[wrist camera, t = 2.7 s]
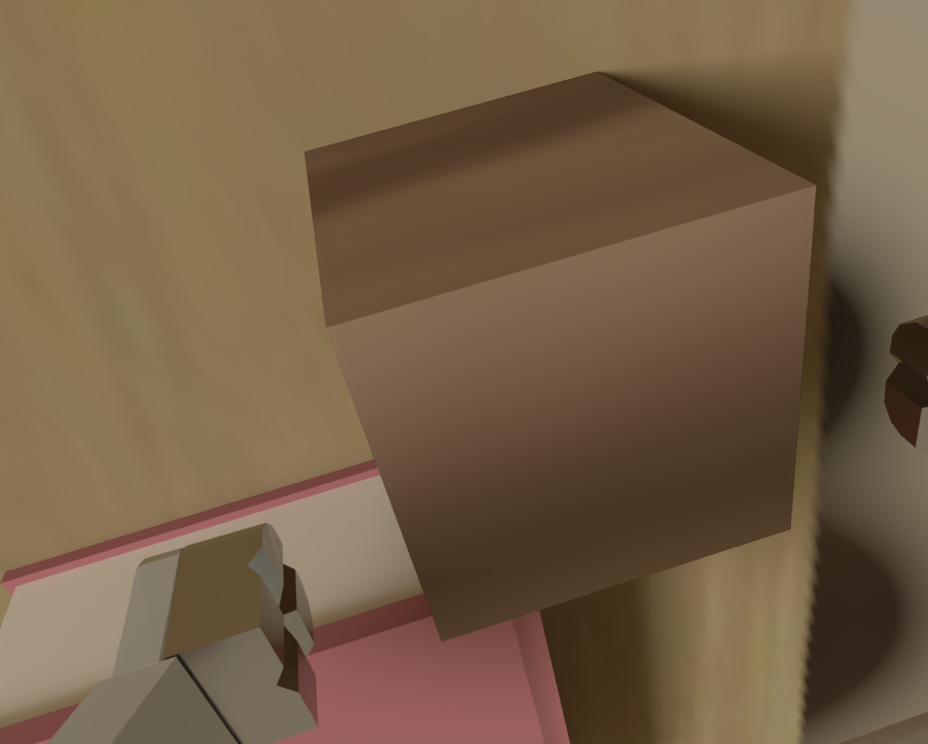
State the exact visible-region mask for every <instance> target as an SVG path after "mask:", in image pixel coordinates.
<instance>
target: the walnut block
mask: <svg viewBox="0 0 928 744" xmlns="http://www.w3.org/2000/svg"><path fill="white" fill-rule="evenodd" d="M304 153H305V161H306V169H307V177H308V185H309V193H310V201H311V210H312V218H313V226H314V234H315V242H316V250H317V258H318V266H319V275H320V283H321V291H322V299H323V307H324V315H325V323H326V329H327V332H328V335H329V337H330V340H331V343H332V345H333V348H334V351H335V354H336V356H337V359H338V362H339V364H340V367H341V370H342V373H343V375H344V378H345V381H346V383H347V386H348V389H349V392H350V394H351V397H352V400H353V402H354V405H355V408H356V411H357V413H358V416H359V419H360V421H361V424H362V427H363V430H364V432H365V435H366V438H367V441H368V443H369V446H370V449H371V451H372V454H373V457H374V460H375V462H376V465H377V468H378V470H379V473H380V476H381V479H382V481H383V484H384V487H385V489H386V492H387V495H388V498H389V500H390V503H391V506H392V508H393V511H394V514H395V517H396V519H397V522H398V525H399V527H400V530H401V533H402V536H403V538H404V541H405V544H406V547H407V549H408V552H409V555H410V557H411V560H412V563H413V566H414V568H415V571H416V574H417V576H418V579H419V582H420V585H421V587H422V590H423V593H424V595H425V598H426V601H427V604H428V606H429V609H430V612H431V614H432V617H433V620H434V623H435V625H436V628H437V631H438V633H439V636H440V639H441V642H443V641H447V640H450V639H453V638H456V637H459V636H462V635H465V634H468V633H471V632H474V631H477V630H481V629H484V628H487V627H490V626H493V625H496V624H499V623H502V622H505V621H508V620H511V619H514V618H518V617H521V616H524V615H527V614H530V613H533V612H536V611H539V610H542V609H545V608H548V607H552V606H555V605H558V604H561V603H564V602H567V601H570V600H573V599H576V598H579V597H582V596H586V595H589V594H592V593H595V592H598V591H601V590H604V589H607V588H610V587H613V586H616V585H620V584H623V583H626V582H629V581H632V580H635V579H638V578H641V577H644V576H647V575H650V574H654V573H657V572H660V571H663V570H666V569H669V568H672V567H675V566H678V565H681V564H684V563H688V562H691V561H694V560H697V559H700V558H703V557H706V556H709V555H712V554H715V553H718V552H722V551H725V550H728V549H731V548H734V547H737V546H740V545H743V544H746V543H749V542H752V541H755V540H759V539H762V538H765V537H768V536H771V535H774V534H777V533H780V532H783V531H786V530H789V529H790V528H791V515H792V502H793V489H794V475H795V462H796V449H797V436H798V422H799V409H800V396H801V383H802V369H803V356H804V343H805V330H806V316H807V303H808V290H809V277H810V263H811V250H812V237H813V224H814V210H815V197H816V185H815V184H813V183H811V182H809V181H807V180H805V179H803V178H802V177H800V176H798V175H796V174H794V173H792V172H790V171H788V170H786V169H784V168H782V167H780V166H778V165H776V164H775V163H773V162H771V161H769V160H767V159H765V158H763V157H761V156H759V155H757V154H755V153H753V152H751V151H749V150H748V149H746V148H744V147H742V146H740V145H738V144H736V143H734V142H732V141H730V140H728V139H726V138H724V137H722V136H720V135H719V134H717V133H715V132H713V131H711V130H709V129H707V128H705V127H703V126H701V125H699V124H697V123H695V122H693V121H692V120H690V119H688V118H686V117H684V116H682V115H680V114H678V113H676V112H674V111H672V110H670V109H668V108H666V107H665V106H663V105H661V104H659V103H657V102H655V101H653V100H651V99H649V98H647V97H645V96H643V95H641V94H639V93H638V92H636V91H634V90H632V89H630V88H628V87H626V86H624V85H622V84H620V83H618V82H616V81H614V80H612V79H611V78H609V77H607V76H605V75H603V74H601V73H599V72H593V73H590V74H586V75H583V76H579V77H575V78H572V79H568V80H564V81H561V82H557V83H553V84H550V85H546V86H542V87H539V88H535V89H532V90H528V91H524V92H521V93H517V94H513V95H510V96H506V97H502V98H499V99H495V100H492V101H488V102H484V103H481V104H477V105H473V106H470V107H466V108H462V109H459V110H455V111H451V112H448V113H444V114H441V115H437V116H433V117H430V118H426V119H422V120H419V121H415V122H411V123H408V124H404V125H401V126H397V127H393V128H390V129H386V130H382V131H379V132H375V133H371V134H368V135H364V136H360V137H357V138H353V139H350V140H346V141H342V142H339V143H335V144H331V145H328V146H324V147H320V148H317V149H313V150H309V151H306V152H304Z"/></svg>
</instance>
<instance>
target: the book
mask: <svg viewBox="0 0 928 744" xmlns="http://www.w3.org/2000/svg"><path fill="white" fill-rule="evenodd" d="M263 523H268V524H270V525H272V526H273V528H274V530H275V531H276V533H277V535H278V537H279V539H280V540H281V542H282V544H283V564H285V565H287V566H289V567H291V568H294V569H295V570H296V572H297V574H298V576H299V578H300V580H301V582H302V584H303V587H304V590H305V593H306V595H307V598H308V602H309V607H310V612H311V616H312V621H313V632H314V645H313V647H312V649H311V650H310V652H309V654H308V655H307V657H306V658H307V660H308V662H309V664H310V665H311V667H312V669H313V671H314V673H315V675H316V688H317V710H318V727H316V728H313V729H310V730H308V731H305V732H302V733H299V734H297V735H294V736H291V737H288V738H286V739H283V740H280V741H277V742H275V743H272V744H570V741H569V736H568V732H567V728H566V723H565V719H564V715H563V710H562V706H561V702H560V697H559V693H558V689H557V684H556V680H555V676H554V671H553V667H552V663H551V658H550V654H549V650H548V645H547V641H546V637H545V632H544V628H543V624H542V619H541V615H540V611H536V612H533V613H530V614H527V615H524V616H521V617H518V618H514V619H511V620H508V621H505V622H502V623H499V624H496V625H493V626H490V627H487V628H484V629H481V630H477V631H474V632H471V633H468V634H465V635H462V636H459V637H456V638H453V639H450V640H447V641H443V642H441V639H440V636H439V633H438V631H437V628H436V625H435V623H434V620H433V617H432V614H431V612H430V609H429V606H428V604H427V601H426V598H425V595H424V593H423V590H422V587H421V585H420V582H419V579H418V576H417V574H416V571H415V568H414V566H413V563H412V560H411V557H410V555H409V552H408V549H407V547H406V544H405V541H404V538H403V536H402V533H401V530H400V527H399V525H398V522H397V519H396V517H395V514H394V511H393V508H392V506H391V503H390V500H389V498H388V495H387V492H386V489H385V487H384V484H383V481H382V479H381V476H380V473H379V470H378V468H377V465H376V462H375V460H371V461H367V462H364V463H361V464H358V465H354V466H351V467H348V468H344V469H341V470H338V471H335V472H331V473H328V474H325V475H322V476H318V477H315V478H312V479H308V480H305V481H302V482H299V483H295V484H292V485H289V486H285V487H282V488H279V489H276V490H272V491H269V492H266V493H263V494H259V495H256V496H253V497H249V498H246V499H243V500H240V501H236V502H233V503H230V504H227V505H223V506H220V507H217V508H213V509H210V510H207V511H204V512H200V513H197V514H194V515H191V516H187V517H184V518H181V519H177V520H174V521H171V522H168V523H164V524H161V525H158V526H155V527H151V528H148V529H145V530H141V531H138V532H135V533H132V534H128V535H125V536H122V537H119V538H115V539H112V540H109V541H105V542H102V543H99V544H96V545H92V546H89V547H86V548H83V549H79V550H76V551H73V552H69V553H66V554H63V555H60V556H56V557H53V558H50V559H46V560H43V561H40V562H37V563H33V564H30V565H27V566H24V567H20V568H17V569H14V570H10V571H7V572H5V574H4V576H3V579H2V581H1V584H2V585H3V586H4V588H5V589H6V590H7V591H8V592H9V593H10V594H11V596H12V599H11V602H10V604H9V607H8V610H7V612H6V615H5V618H4V620H3V623H2V626H1V628H0V744H47V743H48V742H49V741H50V740H51V739H52V737H53V736H54V735H55V734H56V732H57V731H58V730H59V729H60V728H61V726H62V725H63V724H64V723H65V721H66V720H67V719H68V718H69V717H70V715H71V714H72V713H73V712H74V711H75V709H76V708H77V707H78V706H79V704H80V703H81V702H82V701H83V700H84V698H85V697H86V696H87V695H88V694H89V692H90V691H91V690H92V689H93V687H94V686H95V685H96V684H97V683H98V682H99V681H102V680H105V679H108V678H111V677H112V673H113V668H114V664H115V659H116V655H117V650H118V646H119V641H120V637H121V633H122V628H123V624H124V619H125V615H126V610H127V606H128V602H129V597H130V593H131V588H132V584H133V579H134V575H135V571H136V568H137V567H138V565H139V564H140V563H141V562H142V561H143V559H145V558H149V557H152V556H155V555H159V554H162V553H166V552H169V551H172V550H176V549H179V548H185V546H187V545H191V544H194V543H198V542H201V541H204V540H208V539H211V538H215V537H218V536H222V535H225V534H229V533H232V532H236V531H239V530H242V529H246V528H249V527H253V526H256V525H260V524H263Z"/></svg>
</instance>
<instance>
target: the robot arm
mask: <svg viewBox="0 0 928 744" xmlns="http://www.w3.org/2000/svg"><path fill="white" fill-rule="evenodd" d="M890 353H891V355H892V356H893V357H894V358H895V359H896V361H897V362H898V363H899V364H898V365H897V366H896V368H895V369H894V371H893V372H892V374H891V375H890V376H889V378H888V379H887V380H886V388H885V400H884V402H885V406H886V409H887V411H888V414H889V417H890V420H891V422H892V424H893V425H894V426H895V428H896V429H897V431H898V432H899V433H900V435H901V436H902V437H904V438H905V439H906V440H907V441H909V443H911V444H912V445H913V446H914V447H915V448H918V449H921V450H925V451H928V315H927V316H924V317H921V318H918V319H915V320H912V321H909V322H906V323H902V324H900V325H899V326H898V328H897V329H896V331H895V332H894V334H893V336H892V341H891V348H890ZM313 645H314V632H313V621H312V616H311V612H310V607H309V602H308V598H307V595H306V593H305V590H304V587H303V584H302V582H301V580H300V578H299V576H298V574H297V572H296V570H295V569H294V568H291V567H289V566H287V565H285V564H283V544H282V542H281V540H280V539H279V537H278V535H277V533H276V531H275V530H274V528H273V526H272V525H270V524H268V523H263V524H260V525H256V526H253V527H249V528H246V529H242V530H239V531H236V532H232V533H229V534H225V535H222V536H218V537H215V538H211V539H208V540H204V541H201V542H198V543H194V544H191V545H187V546H185V548H179V549H176V550H172V551H169V552H166V553H162V554H159V555H155V556H152V557H149V558H145V559H143V561H142V562H141V563H140V564H139V565H138V567H137V568H136V571H135V575H134V579H133V584H132V588H131V593H130V597H129V602H128V606H127V610H126V615H125V619H124V624H123V628H122V633H121V637H120V641H119V646H118V650H117V655H116V659H115V664H114V668H113V673H112V677H111V678H108V679H105V680H102V681H99V682H98V683H97V684H96V685H95V686H94V687H93V689H92V690H91V691H90V692H89V694H88V695H87V696H86V697H85V698H84V700H83V701H82V702H81V703H80V704H79V706H78V707H77V708H76V709H75V711H74V712H73V713H72V714H71V715H70V717H69V718H68V719H67V720H66V721H65V723H64V724H63V725H62V726H61V728H60V729H59V730H58V731H57V732H56V734H55V735H54V736H53V737H52V739H51V740H50V741H49V742H48V743H47V744H272V743H275V742H277V741H280V740H283V739H286V738H288V737H291V736H294V735H297V734H299V733H302V732H305V731H308V730H310V729H313V728H316V727H318V710H317V688H316V675H315V673H314V671H313V669H312V667H311V665H310V664H309V662H308V660H307V658H306V657H307V655H308V654H309V652H310V650H311V649H312V647H313ZM837 744H928V712H925V713H922V714H920V715H917V716H914V717H911V718H908V719H905V720H902V721H900V722H897V723H894V724H891V725H888V726H885V727H883V728H880V729H877V730H874V731H871V732H868V733H866V734H863V735H860V736H857V737H854V738H852V739H849V740H846V741H843V742H840V743H837Z"/></svg>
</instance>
